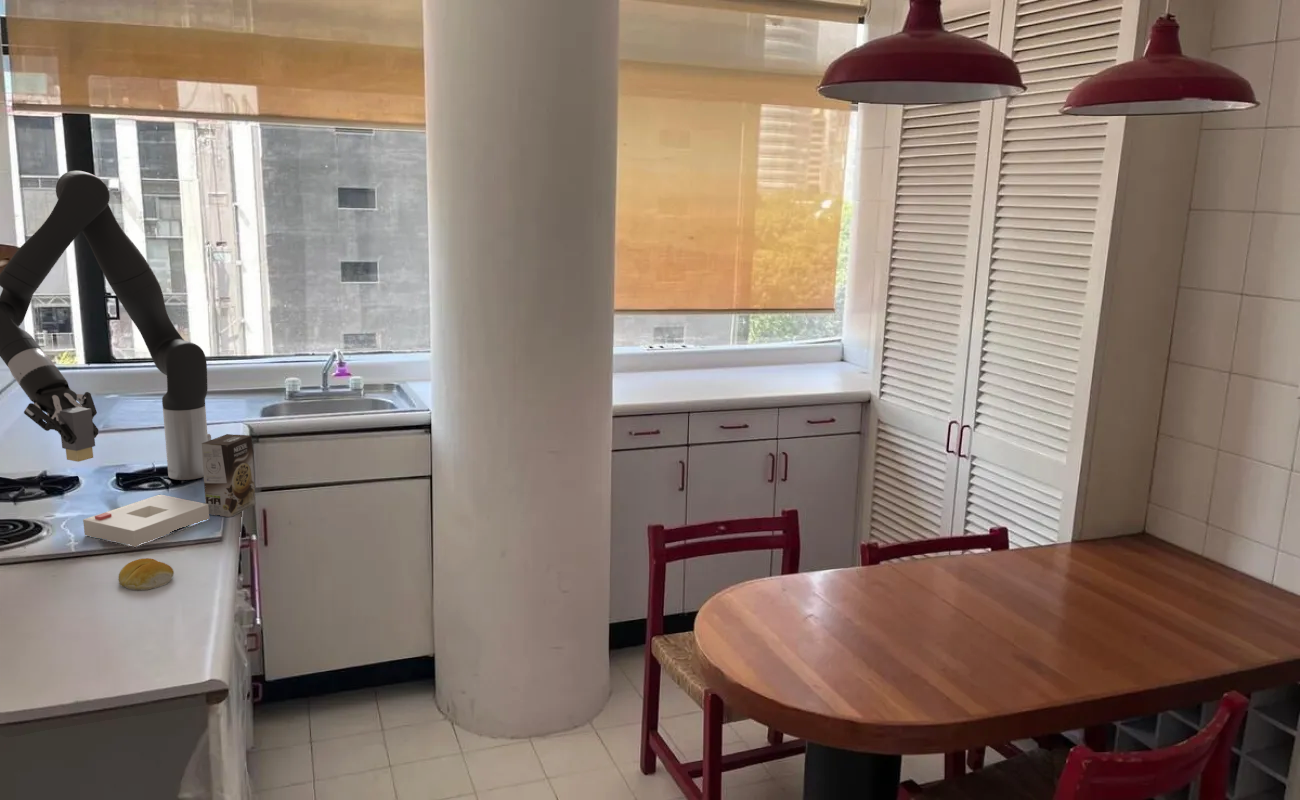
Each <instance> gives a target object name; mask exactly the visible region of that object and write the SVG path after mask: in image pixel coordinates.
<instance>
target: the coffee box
mask: <svg viewBox="0 0 1300 800" xmlns="http://www.w3.org/2000/svg"><path fill="white" fill-rule="evenodd" d="M202 457H203V473H204V477H203V486H204V501H205V502H204V503H205V504H208V507H209V514H211V516H217V515H220V517H227V518H231V517H234V516H235V515H238V514H240V513H242V512H244V511H246V510H248V509H250V508H252V507H254V506H256V490H255V489H256V488H255V487H256V485H255V472H254V453H253V438H252V435H247V434H232V433H231V434H228V433H226V434H224V435H221V436H219V437H216V438H215V437H214V438H211V440H210V441H207V442H204V443H202Z"/></svg>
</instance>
